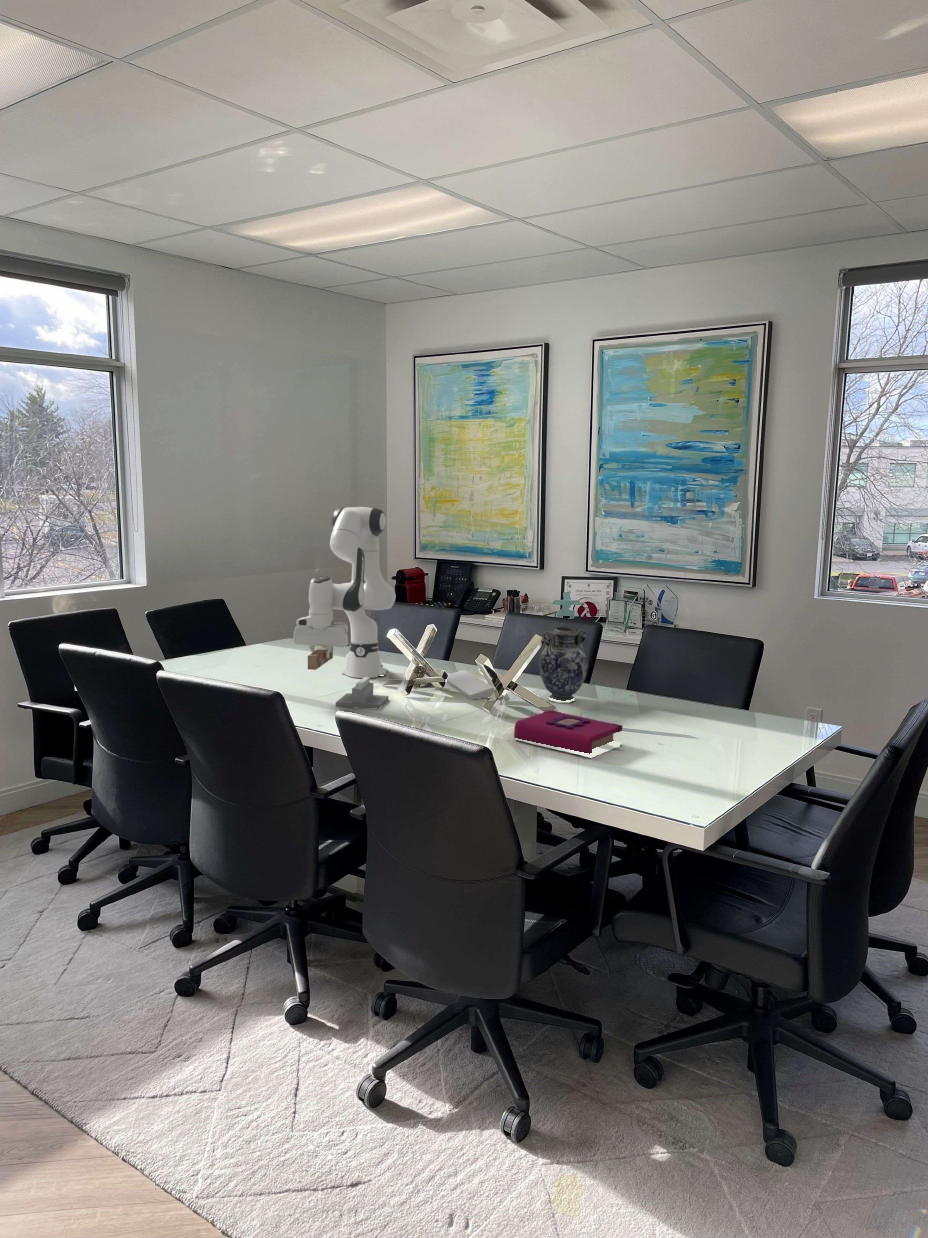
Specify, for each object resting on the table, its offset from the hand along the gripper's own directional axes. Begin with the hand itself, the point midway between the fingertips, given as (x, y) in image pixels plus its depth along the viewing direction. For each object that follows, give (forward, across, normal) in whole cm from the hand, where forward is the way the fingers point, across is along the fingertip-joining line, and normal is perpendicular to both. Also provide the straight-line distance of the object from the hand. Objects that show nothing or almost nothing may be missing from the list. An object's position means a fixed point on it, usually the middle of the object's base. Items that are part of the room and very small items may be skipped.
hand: (320, 657), depth 333 cm
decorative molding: (+17, -51, -31) cm, 63 cm away
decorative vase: (+16, -89, -22) cm, 93 cm away
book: (+16, -93, +37) cm, 102 cm away
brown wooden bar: (+2, 0, 0) cm, 2 cm away
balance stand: (+15, -17, +3) cm, 23 cm away
